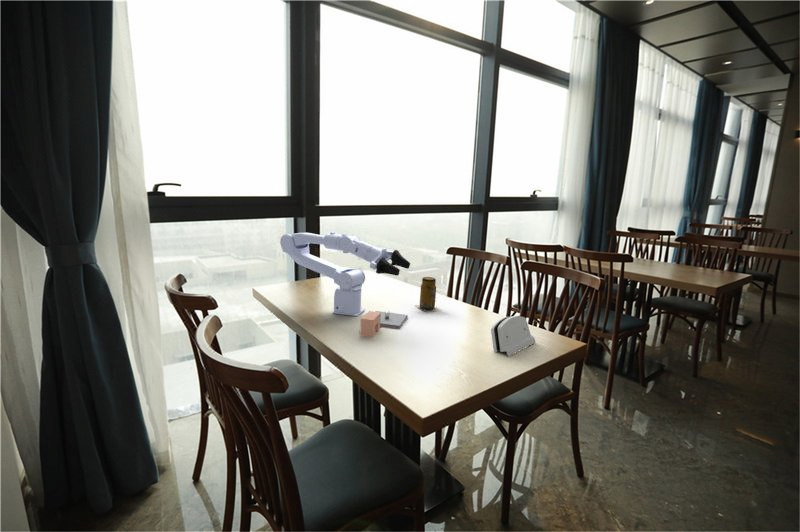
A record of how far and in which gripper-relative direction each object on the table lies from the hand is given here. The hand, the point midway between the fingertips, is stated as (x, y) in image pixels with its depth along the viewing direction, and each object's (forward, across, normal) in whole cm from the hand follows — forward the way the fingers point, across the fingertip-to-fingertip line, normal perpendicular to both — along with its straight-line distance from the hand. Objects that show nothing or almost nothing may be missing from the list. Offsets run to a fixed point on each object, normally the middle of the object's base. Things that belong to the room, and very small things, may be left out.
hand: (404, 269), depth 128 cm
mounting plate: (0, -4, +19) cm, 20 cm away
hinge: (+41, -1, +8) cm, 42 cm away
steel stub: (0, -4, +19) cm, 20 cm away
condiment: (+7, +18, +21) cm, 28 cm away
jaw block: (+1, -16, +17) cm, 24 cm away
